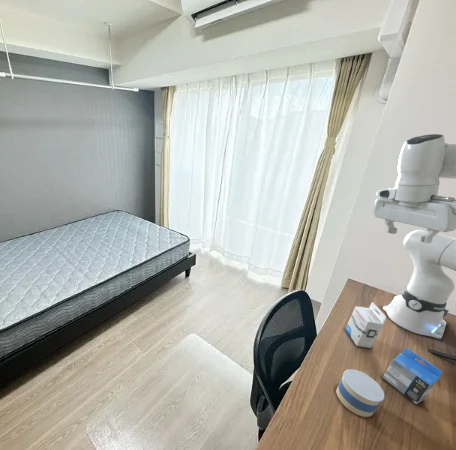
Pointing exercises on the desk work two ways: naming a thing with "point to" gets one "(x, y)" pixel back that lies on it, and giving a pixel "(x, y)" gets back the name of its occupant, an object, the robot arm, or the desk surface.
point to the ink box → (365, 325)
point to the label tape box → (412, 375)
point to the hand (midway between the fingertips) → (407, 237)
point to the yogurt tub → (359, 393)
